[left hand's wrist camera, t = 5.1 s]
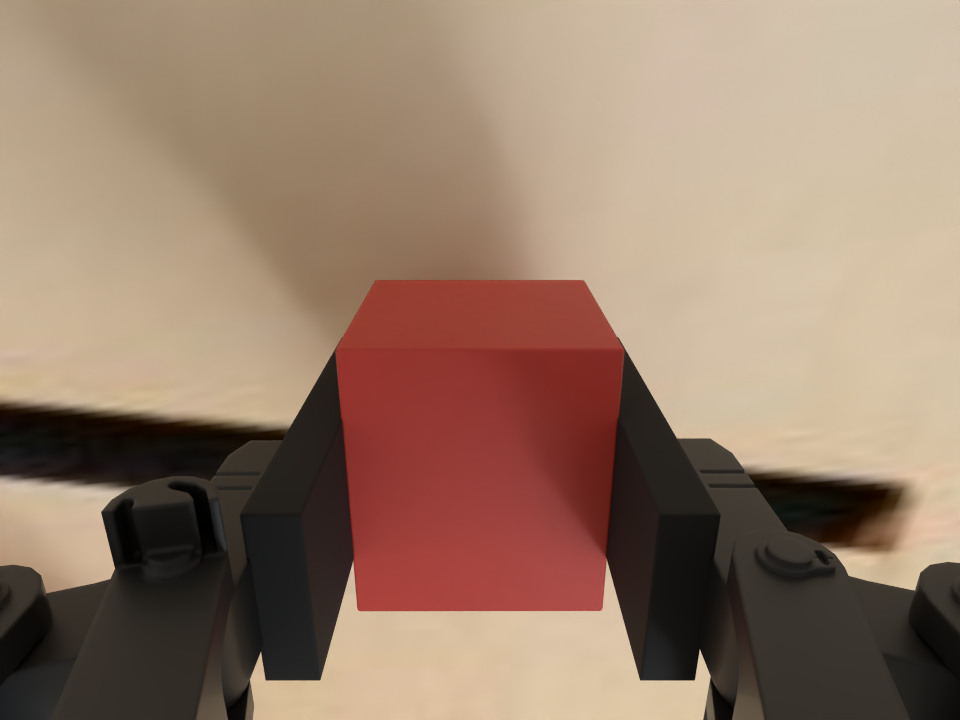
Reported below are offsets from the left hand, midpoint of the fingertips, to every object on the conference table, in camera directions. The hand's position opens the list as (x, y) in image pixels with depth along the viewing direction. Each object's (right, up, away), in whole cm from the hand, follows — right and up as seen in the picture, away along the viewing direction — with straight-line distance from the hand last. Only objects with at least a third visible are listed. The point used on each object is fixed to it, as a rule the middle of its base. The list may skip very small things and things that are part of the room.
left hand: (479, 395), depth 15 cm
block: (0, 0, 0) cm, 0 cm away
